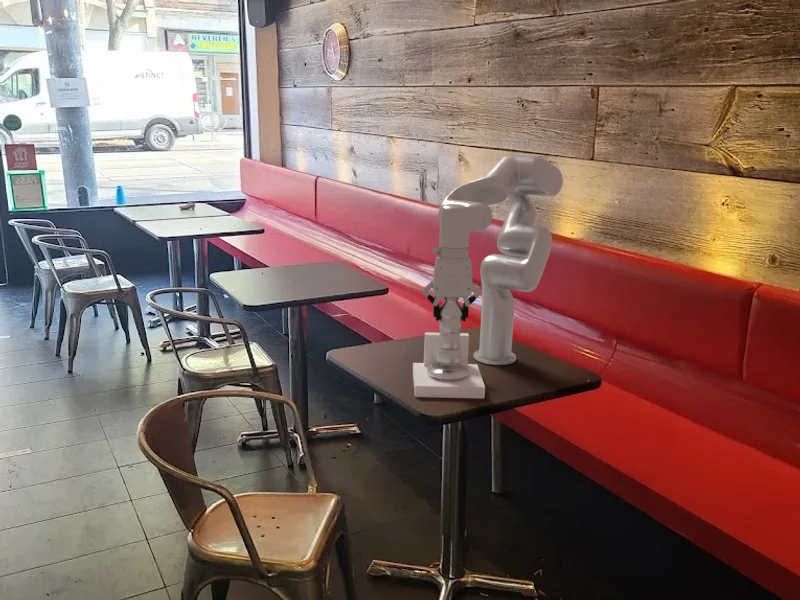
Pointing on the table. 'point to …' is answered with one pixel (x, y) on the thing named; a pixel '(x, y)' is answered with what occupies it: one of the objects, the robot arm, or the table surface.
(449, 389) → the scale
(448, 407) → the table surface
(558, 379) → the table surface
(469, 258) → the robot arm
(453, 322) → the plastic bottle
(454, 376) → the scale pan
